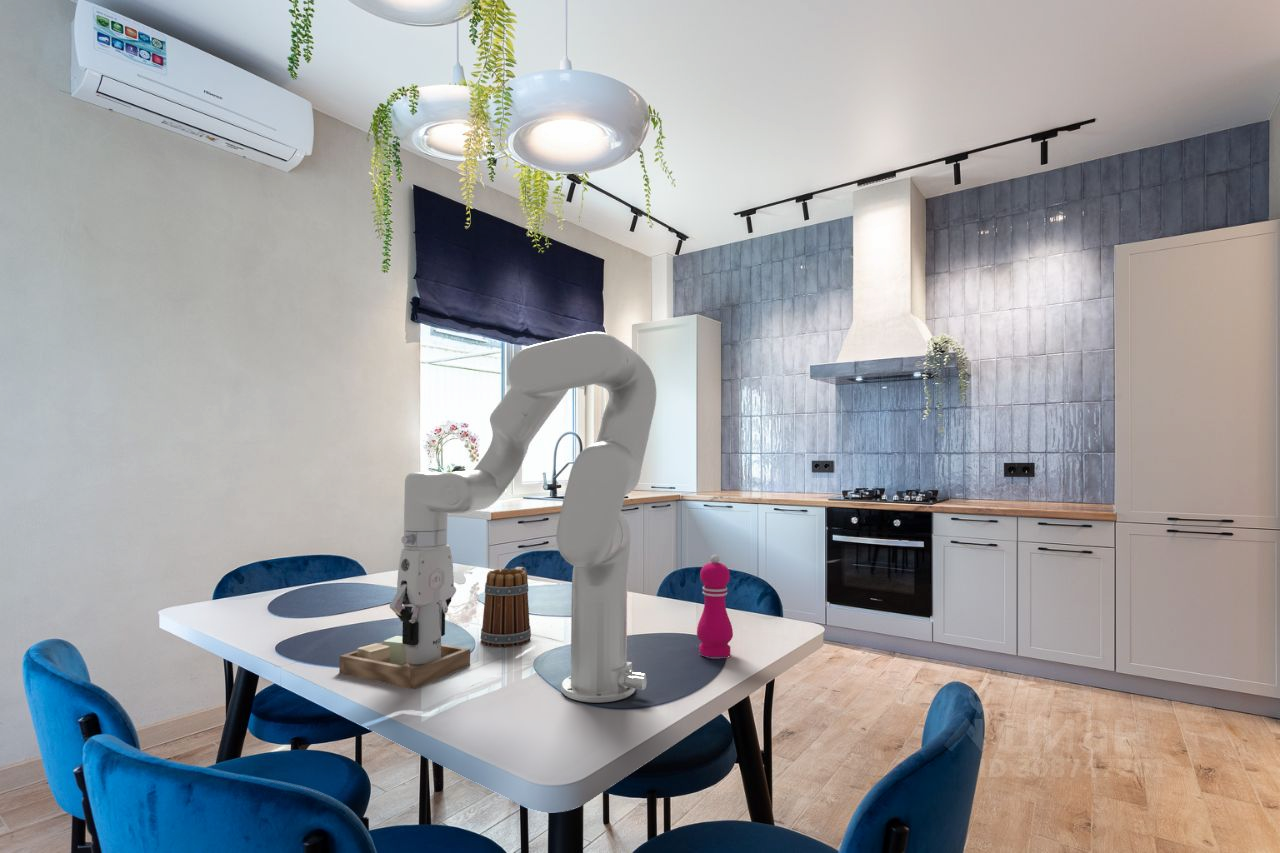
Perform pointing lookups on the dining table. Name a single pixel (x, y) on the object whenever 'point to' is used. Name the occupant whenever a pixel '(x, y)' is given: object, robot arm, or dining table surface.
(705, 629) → the pepper mill
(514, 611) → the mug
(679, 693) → the dining table surface
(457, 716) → the dining table surface
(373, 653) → the beech block
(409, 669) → the tray
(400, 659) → the sage block
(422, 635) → the energy drink can
